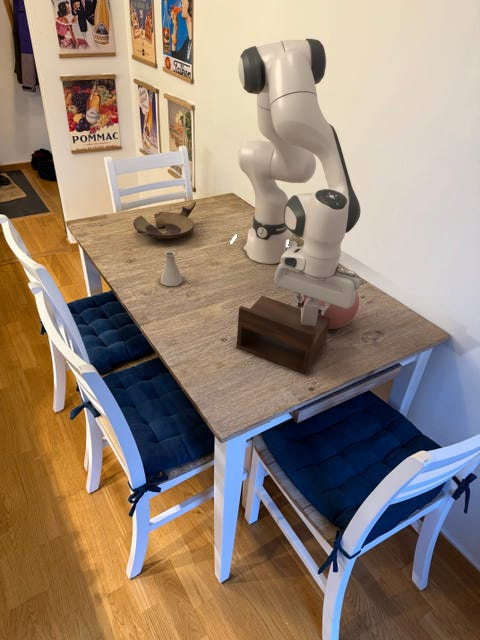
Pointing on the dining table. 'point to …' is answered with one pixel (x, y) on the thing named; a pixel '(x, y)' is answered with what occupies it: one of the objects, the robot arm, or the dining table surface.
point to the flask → (171, 271)
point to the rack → (280, 334)
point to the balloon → (340, 314)
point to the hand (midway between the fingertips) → (310, 309)
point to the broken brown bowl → (167, 223)
